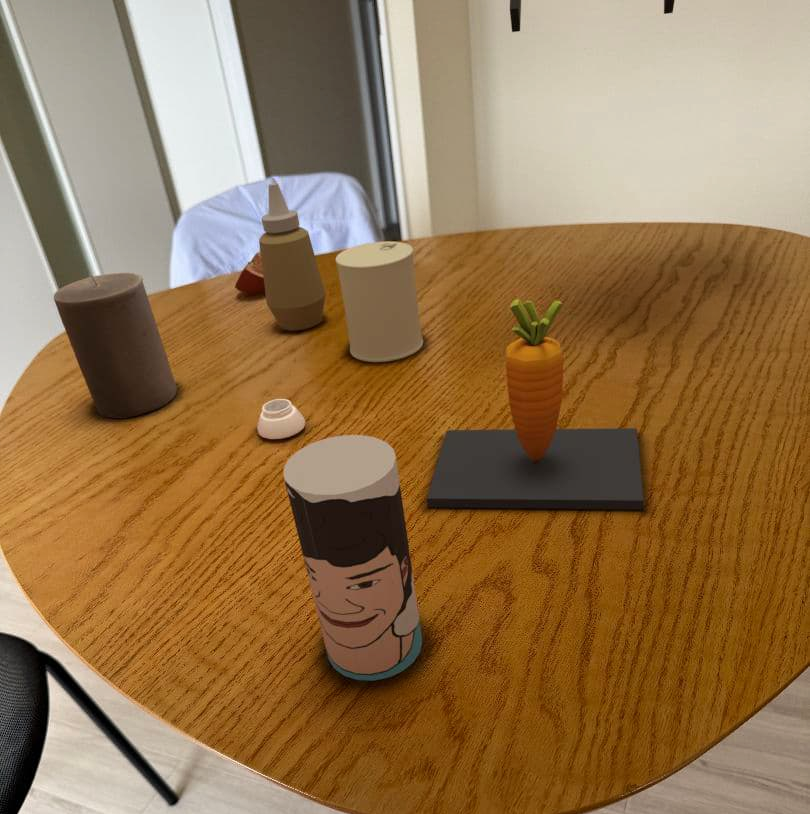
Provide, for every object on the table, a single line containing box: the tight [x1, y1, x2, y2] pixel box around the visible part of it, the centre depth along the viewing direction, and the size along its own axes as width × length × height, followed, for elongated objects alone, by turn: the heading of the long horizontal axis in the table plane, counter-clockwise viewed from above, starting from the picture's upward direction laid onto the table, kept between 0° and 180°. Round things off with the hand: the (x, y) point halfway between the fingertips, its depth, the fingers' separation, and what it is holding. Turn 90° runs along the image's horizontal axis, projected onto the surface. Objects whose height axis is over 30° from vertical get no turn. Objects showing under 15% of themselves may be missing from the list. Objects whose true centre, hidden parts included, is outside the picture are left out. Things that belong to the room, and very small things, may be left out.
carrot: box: [504, 298, 565, 462], centre depth 66 cm, size 5×5×15 cm
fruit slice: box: [234, 251, 265, 295], centre depth 119 cm, size 8×7×5 cm
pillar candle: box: [53, 272, 178, 419], centre depth 89 cm, size 10×10×15 cm
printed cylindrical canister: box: [282, 434, 423, 682], centre depth 51 cm, size 7×7×15 cm
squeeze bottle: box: [258, 182, 326, 331], centre depth 102 cm, size 8×8×18 cm
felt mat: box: [426, 427, 645, 511], centre depth 70 cm, size 18×12×1 cm, turn 79°
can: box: [335, 240, 424, 363], centre depth 94 cm, size 9×9×12 cm
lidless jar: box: [256, 398, 306, 440], centre depth 82 cm, size 5×3×5 cm
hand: (590, 11), depth 70 cm, fingers open, 13 cm apart
